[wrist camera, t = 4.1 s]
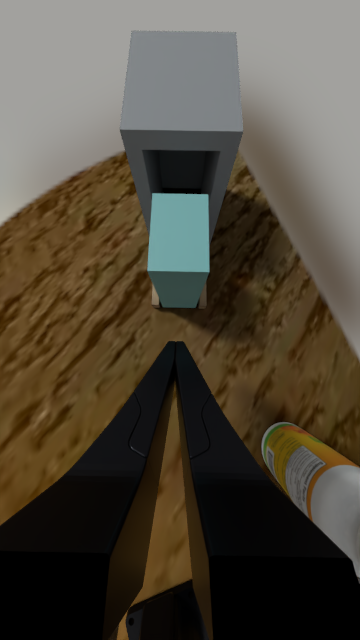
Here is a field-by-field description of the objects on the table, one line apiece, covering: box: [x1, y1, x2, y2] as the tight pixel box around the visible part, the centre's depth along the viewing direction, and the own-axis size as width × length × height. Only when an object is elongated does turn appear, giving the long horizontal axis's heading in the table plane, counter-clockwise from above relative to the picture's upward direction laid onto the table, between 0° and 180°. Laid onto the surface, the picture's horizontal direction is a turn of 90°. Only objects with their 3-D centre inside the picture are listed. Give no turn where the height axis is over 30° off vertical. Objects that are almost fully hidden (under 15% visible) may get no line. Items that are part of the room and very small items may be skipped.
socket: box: [120, 31, 243, 244], centre depth 16 cm, size 10×8×11 cm
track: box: [152, 282, 207, 309], centre depth 19 cm, size 9×6×1 cm
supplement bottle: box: [262, 422, 360, 578], centre depth 11 cm, size 5×5×10 cm
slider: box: [147, 193, 209, 308], centre depth 15 cm, size 8×4×9 cm, turn 179°
